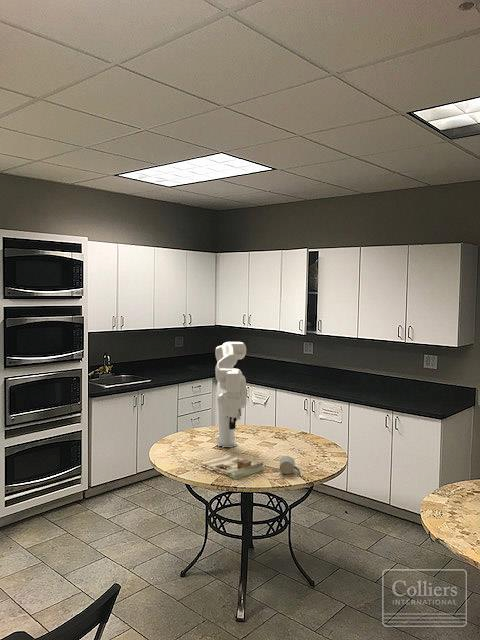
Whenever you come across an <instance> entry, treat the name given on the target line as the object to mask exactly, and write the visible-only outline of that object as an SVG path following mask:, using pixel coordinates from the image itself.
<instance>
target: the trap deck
mask: <svg viewBox="0 0 480 640" xmlns="http://www.w3.org/2000/svg"><path fill="white" fill-rule="evenodd" d="M242 459H243V458H239V457H237V456H233V455H230V454H225V455H222V456H220V457H216V458H213V459H210V460H205V461H203V462H202V461H201V462H200V466H201V465H203V466H205V467H208V468H210V469H213V470H215V471H218V472H221V473H224V474H226V475H229V476H231V477H233V478H232V479H234V478H238V479H240V477H241V478H243V476H244V477H246V475H247V476H249V475H252V474H254V473H255V474H256V473H258V472H261V471H263V470H264V462H263V461H260V462H256V463H255V462H252V461H251V466H248V467H245V468H242V469H237V464H238V463H237V462H238V461H239V460H242ZM219 467H225V468H228V469H225V468H224V469H223V468H219ZM215 471H214V472H215ZM226 475H225V476H226ZM231 477H230V478H231Z"/></svg>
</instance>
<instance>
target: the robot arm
mask: <svg viewBox="0 0 480 640" xmlns="http://www.w3.org/2000/svg"><path fill="white" fill-rule="evenodd" d="M214 353H215V359H216V361H217V362H216V365H215V368H214V369H215V380H216V382H218V383H219V387H220V389H221V391H224V392H222V393H220V394H219V395H217V409H218V434H217V435H216V436H215V437H214V438H215V440H217V441H216V442H215V445H216V444H217V445H218V446H217V445H216V446H217V447H219V446H223V447H222V448H224V447H229V448H233V446H234V447H236V446H238V442H237V441H236V440H235V429H236V424H237V423H236V422H237V421H240V420H241V416H242V410H243V409H245V408H246V406H247V400H248V399H247V398H248V397H247V381H246V377H245V375H243V372H242V371H241V369H239V368H234V366H235V365H236V364H238V363H237V362H238V360H242V359H243V360H244V358H245V356H246V354H247V346H246V344H245V342H241V341H226V342H224V343H223V344H222V345H218V346H217V347H215V352H214Z"/></svg>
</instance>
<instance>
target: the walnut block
mask: <svg viewBox="0 0 480 640" xmlns="http://www.w3.org/2000/svg"><path fill="white" fill-rule="evenodd" d="M241 459H242V460H239V461H238V463H237V469H242V468H245V467H248V466H251V462H252V460H250V459H247V458H241Z"/></svg>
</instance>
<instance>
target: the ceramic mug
mask: <svg viewBox="0 0 480 640" xmlns="http://www.w3.org/2000/svg"><path fill="white" fill-rule="evenodd" d="M295 463H296V462H295V460H294V458H293V457H291V456H289V455H284V456H282V457H281V458H280V460H279V470H280V472H281V474H284V475H286V476H287V475H291V474H292V473H293V474H295V475H299V474H300V473H301V469H300V468H299V467H298V466H296V464H295Z"/></svg>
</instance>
